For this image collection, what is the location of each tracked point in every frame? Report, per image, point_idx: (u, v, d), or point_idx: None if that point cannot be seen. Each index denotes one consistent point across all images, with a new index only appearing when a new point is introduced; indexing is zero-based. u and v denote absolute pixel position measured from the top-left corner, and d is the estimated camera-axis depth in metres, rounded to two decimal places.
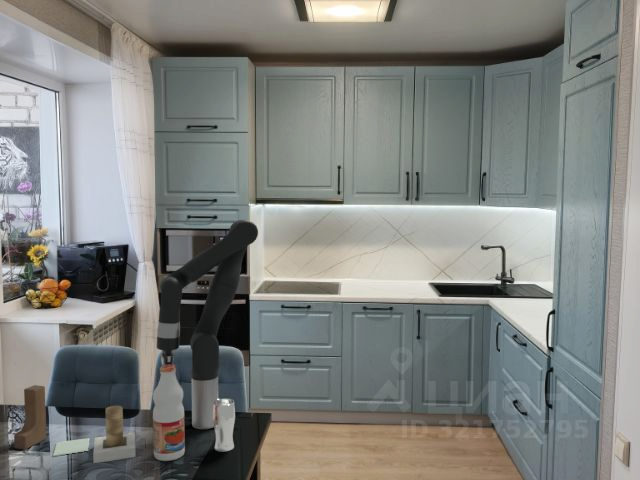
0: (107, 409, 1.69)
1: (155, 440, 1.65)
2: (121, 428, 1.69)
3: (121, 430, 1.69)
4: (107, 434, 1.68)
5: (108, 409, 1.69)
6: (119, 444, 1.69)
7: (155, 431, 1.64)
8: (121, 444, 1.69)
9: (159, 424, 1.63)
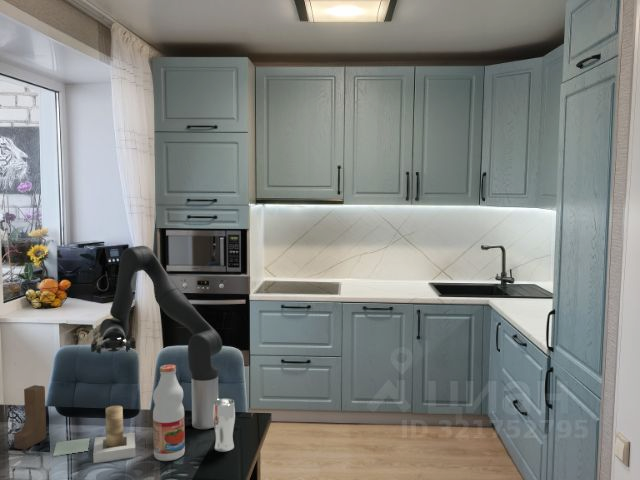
0: (107, 409, 1.69)
1: (155, 440, 1.65)
2: (121, 428, 1.69)
3: (121, 430, 1.69)
4: (107, 434, 1.68)
5: (108, 409, 1.69)
6: (119, 444, 1.69)
7: (155, 431, 1.64)
8: (121, 444, 1.69)
9: (159, 424, 1.63)
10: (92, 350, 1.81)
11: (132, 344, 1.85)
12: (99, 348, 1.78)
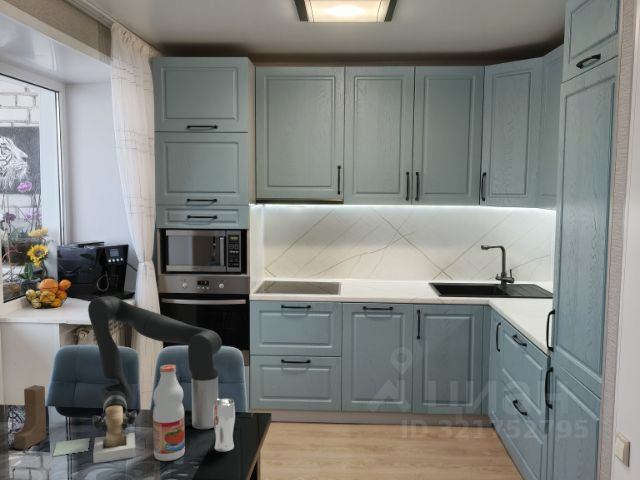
0: (107, 409, 1.69)
1: (155, 440, 1.65)
2: (121, 428, 1.69)
3: (121, 430, 1.69)
4: (107, 434, 1.68)
5: (108, 409, 1.69)
6: (120, 444, 1.69)
7: (155, 431, 1.64)
8: (121, 444, 1.69)
9: (159, 424, 1.63)
10: (97, 427, 1.70)
11: (129, 420, 1.73)
12: (104, 426, 1.67)
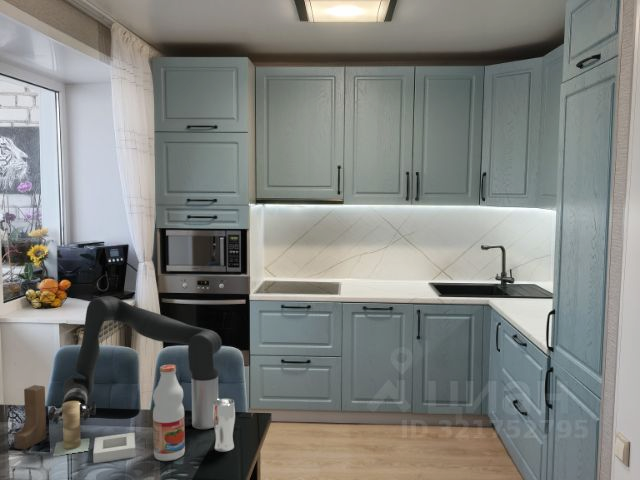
0: (64, 404, 1.72)
1: (155, 440, 1.65)
2: (78, 423, 1.72)
3: (78, 425, 1.72)
4: (64, 429, 1.71)
5: (65, 404, 1.72)
6: (76, 438, 1.72)
7: (155, 431, 1.64)
8: (78, 439, 1.72)
9: (159, 424, 1.63)
10: (50, 419, 1.73)
11: (91, 411, 1.77)
12: (56, 418, 1.70)
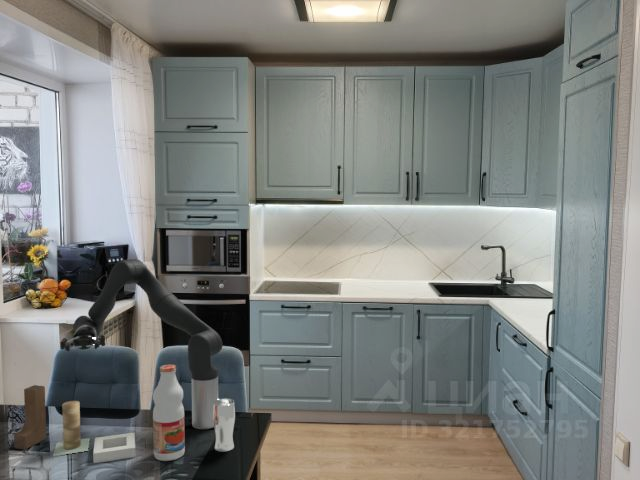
0: (64, 404, 1.72)
1: (155, 440, 1.65)
2: (78, 423, 1.72)
3: (78, 425, 1.72)
4: (64, 429, 1.71)
5: (65, 404, 1.72)
6: (76, 438, 1.72)
7: (155, 431, 1.64)
8: (78, 439, 1.72)
9: (159, 424, 1.63)
10: (61, 348, 1.84)
11: (101, 342, 1.88)
12: (68, 345, 1.81)
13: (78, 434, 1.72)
